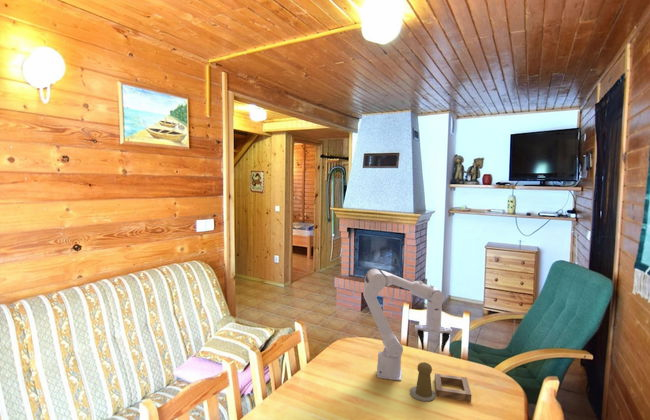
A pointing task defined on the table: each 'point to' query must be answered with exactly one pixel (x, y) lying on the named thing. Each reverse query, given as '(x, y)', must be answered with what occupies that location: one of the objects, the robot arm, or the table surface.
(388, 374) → the robot arm
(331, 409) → the table surface
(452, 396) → the walnut holder
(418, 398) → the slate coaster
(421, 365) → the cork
